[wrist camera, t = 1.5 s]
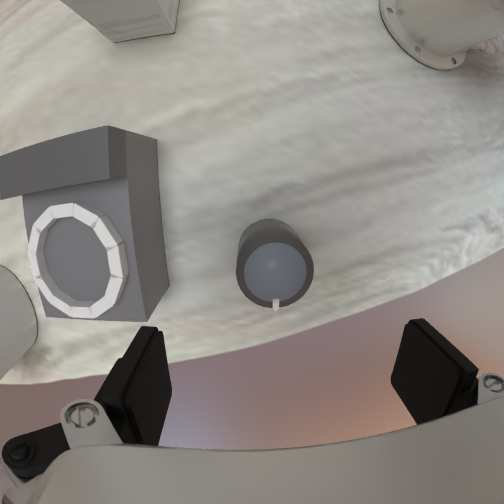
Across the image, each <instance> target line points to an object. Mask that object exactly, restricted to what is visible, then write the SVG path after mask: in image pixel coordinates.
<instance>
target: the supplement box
mask: <svg viewBox="0 0 504 504" xmlns="http://www.w3.org/2000/svg"><path fill="white" fill-rule="evenodd" d="M60 1H62V2H63V3H64V4H66V5H67V6H68V7H70V8H71V9H72V10H74V11H75V12H76V13H77V14H79V15H80V16H81V17H82V18H84V19H85V20H86V21H88V22H89V23H90V24H91V25H92V26H94V27H95V28H96V29H97V30H99V31H100V32H101V33H102V34H104V35H105V36H106V37H107V38H108V39H110V40H111V41H112V42H113V43H116V42H120V41H125V40H131V39H136V38H142V37H148V36H154V35H162V34H170V33H174V32H175V26H176V18H177V11H178V4H179V0H60Z"/></svg>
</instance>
